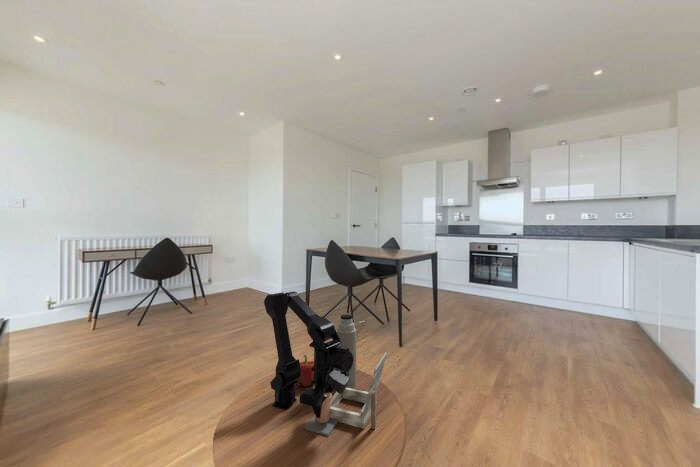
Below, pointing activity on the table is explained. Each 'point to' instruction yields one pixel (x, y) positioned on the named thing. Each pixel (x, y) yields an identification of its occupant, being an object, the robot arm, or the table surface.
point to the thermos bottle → (348, 344)
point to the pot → (325, 408)
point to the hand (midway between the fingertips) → (322, 412)
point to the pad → (321, 426)
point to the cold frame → (359, 396)
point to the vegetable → (306, 373)
